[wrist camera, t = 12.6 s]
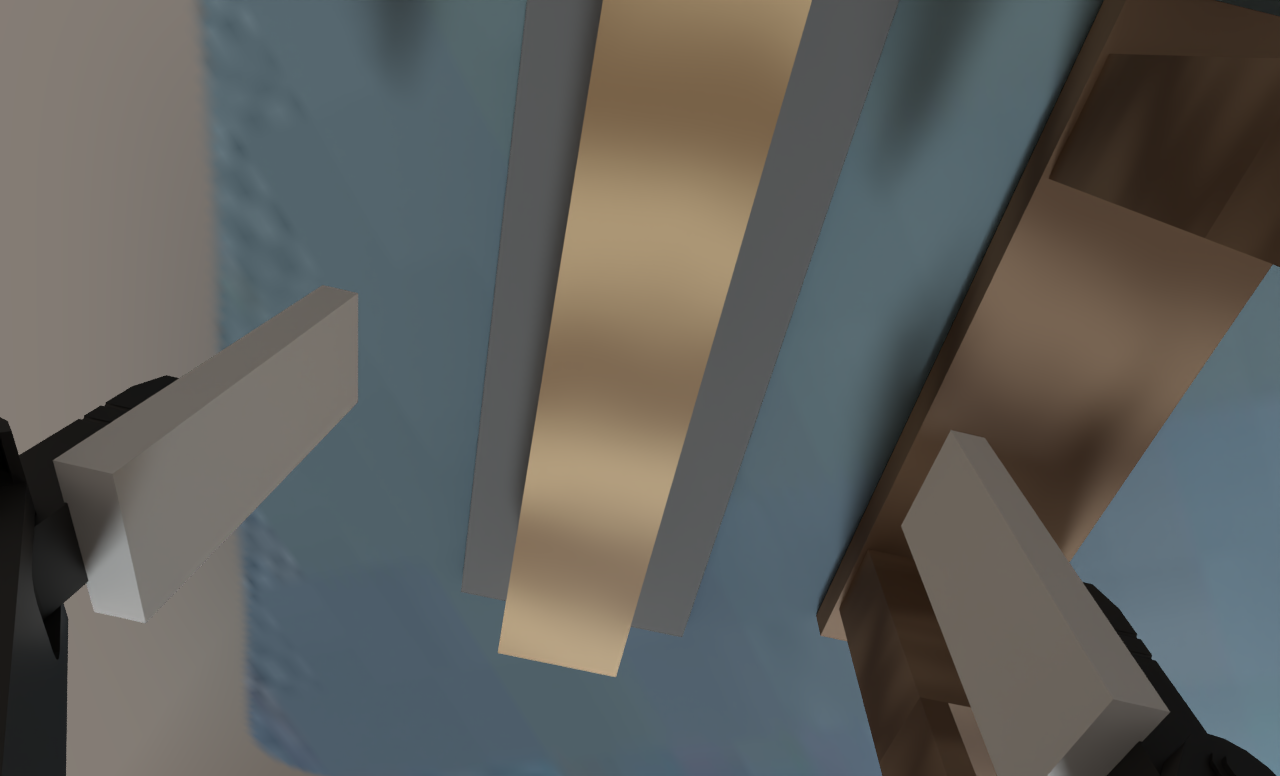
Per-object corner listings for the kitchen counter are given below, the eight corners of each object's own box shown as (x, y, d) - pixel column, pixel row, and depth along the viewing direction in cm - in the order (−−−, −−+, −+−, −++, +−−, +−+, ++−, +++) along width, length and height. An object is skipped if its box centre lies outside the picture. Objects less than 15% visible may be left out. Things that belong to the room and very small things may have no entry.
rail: (646, -132, 15) (632, -184, 12) (813, -90, 16) (849, -129, 12) (524, 568, 26) (497, 652, 22) (626, 589, 26) (616, 677, 22)
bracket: (1111, -16, 16) (1562, -79, 8) (1379, 50, 17) (2093, 58, 8) (816, 615, 26) (874, 882, 18) (984, 650, 27) (1119, 930, 18)
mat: (562, -266, 15) (558, -278, 14) (949, -168, 15) (959, -175, 15) (465, 580, 27) (461, 591, 26) (682, 625, 27) (682, 637, 27)
